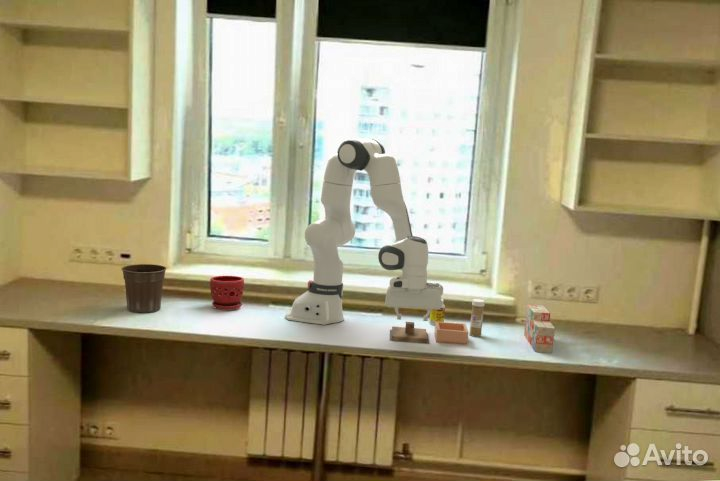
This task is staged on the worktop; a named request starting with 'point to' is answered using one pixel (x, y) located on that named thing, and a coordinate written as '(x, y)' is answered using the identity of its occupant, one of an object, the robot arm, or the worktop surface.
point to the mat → (407, 341)
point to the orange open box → (451, 333)
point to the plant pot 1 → (143, 287)
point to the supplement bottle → (437, 314)
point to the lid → (409, 333)
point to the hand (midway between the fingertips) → (412, 319)
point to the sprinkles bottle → (476, 317)
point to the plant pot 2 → (227, 292)
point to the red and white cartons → (539, 328)
